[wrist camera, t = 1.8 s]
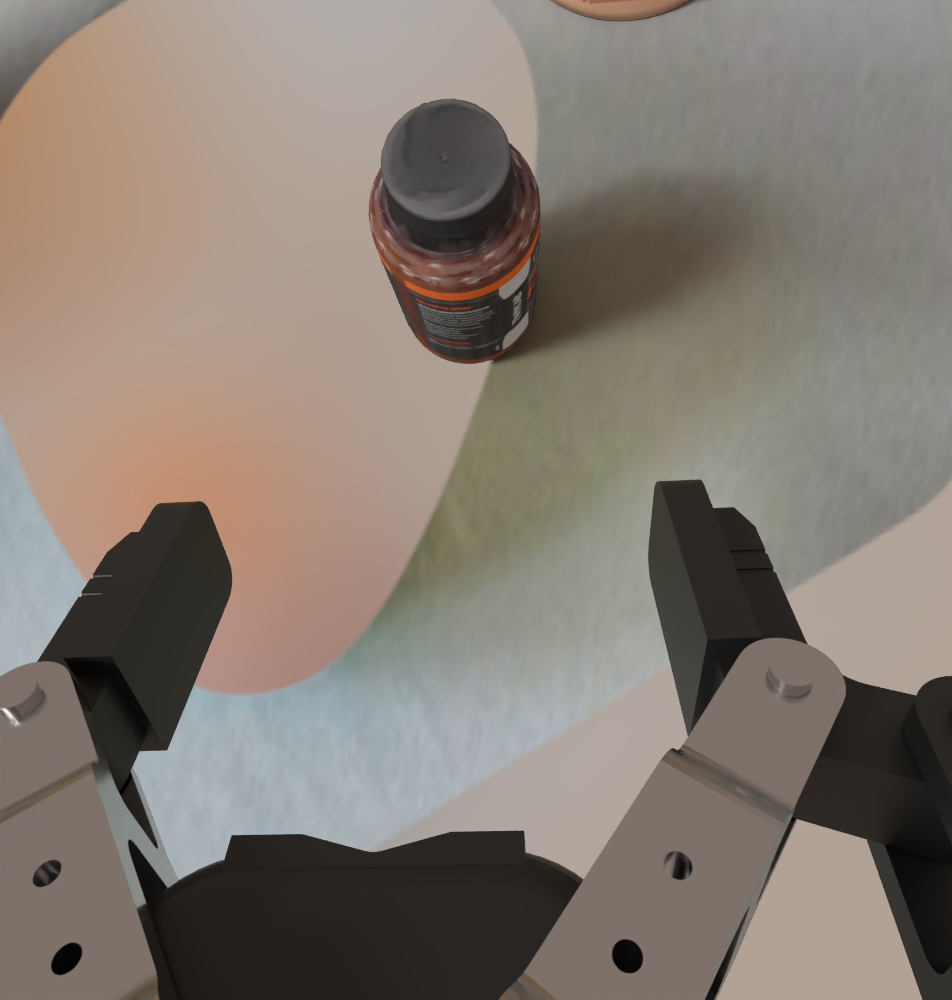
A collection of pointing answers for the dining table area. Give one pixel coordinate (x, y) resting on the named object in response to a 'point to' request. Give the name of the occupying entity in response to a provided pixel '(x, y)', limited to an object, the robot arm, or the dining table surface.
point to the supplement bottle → (458, 230)
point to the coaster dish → (619, 8)
